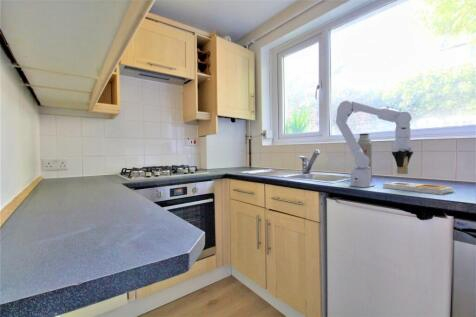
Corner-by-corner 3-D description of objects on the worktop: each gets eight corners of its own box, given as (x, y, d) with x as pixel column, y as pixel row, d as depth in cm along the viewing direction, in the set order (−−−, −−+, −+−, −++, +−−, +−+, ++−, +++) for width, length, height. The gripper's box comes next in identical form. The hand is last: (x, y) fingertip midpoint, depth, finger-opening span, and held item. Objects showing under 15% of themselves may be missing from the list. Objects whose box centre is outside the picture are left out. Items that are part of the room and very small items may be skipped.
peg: (405, 174, 106) (405, 156, 106) (395, 173, 110) (395, 156, 109) (409, 173, 108) (409, 156, 108) (399, 173, 112) (399, 156, 111)
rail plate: (441, 194, 92) (441, 188, 92) (383, 187, 111) (383, 182, 111) (452, 191, 98) (452, 186, 98) (395, 185, 117) (395, 181, 117)
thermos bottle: (368, 181, 133) (368, 132, 133) (354, 180, 140) (354, 133, 139) (374, 180, 138) (374, 133, 137) (360, 179, 145) (360, 134, 144)
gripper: (404, 137, 101) (404, 167, 102) (419, 137, 109) (419, 166, 109) (387, 137, 107) (387, 167, 108) (402, 138, 115) (402, 165, 115)
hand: (402, 166), depth 109 cm, fingers closed on peg, 4 cm apart
